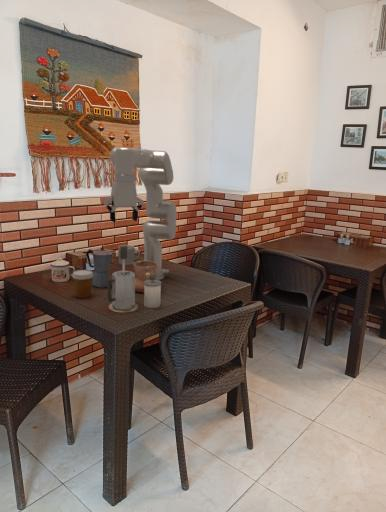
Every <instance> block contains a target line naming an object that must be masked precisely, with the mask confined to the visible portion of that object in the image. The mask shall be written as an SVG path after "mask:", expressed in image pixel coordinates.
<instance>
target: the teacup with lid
mask: <svg viewBox="0 0 386 512" xmlns="http://www.w3.org/2000/svg"><path fill="white" fill-rule="evenodd" d="M50 268H51V281H52V282H54V283H65V282H68V281H69V280H70V276H71V277H72V275H73V272H74V271H76V268H75V267H74V266H73V265H72V266H71V265H70V262H69V261H67V260H65V259H63V258H62V257H59V258H58V259H56V260H55V261H52V262H51V263H50ZM70 268H71V269H72V270H73V272H71V273H70Z"/></svg>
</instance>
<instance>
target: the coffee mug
mask: <svg viewBox="0 0 386 512" xmlns="http://www.w3.org/2000/svg"><path fill="white" fill-rule="evenodd" d="M120 246H127V259H125V266H129V265H130V266H131V265H134V262H135V260H137V259H139V258H140V256H141V253H140V252H141V251H140V249H138V248H135V246H134V245H131V244H129V245H128V244H126V245H125V244H124V245H123V244H122V245H119V246H118V247H117V248H118V249H117V250H118V251H117V254H118V257H117V260H118V261H117V264H119V265H122V266H123V259H121V258H120ZM136 252H137V255H136Z"/></svg>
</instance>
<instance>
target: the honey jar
mask: <svg viewBox="0 0 386 512" xmlns="http://www.w3.org/2000/svg"><path fill="white" fill-rule="evenodd" d="M72 273H73V275H71V277H72V278H73V284H74V291H75V297H76V298H78V299H84V298H85V299H86V298H89V297H91V293H92V287H93V285H92V282H93V276H94V272H93V271H92V270H89V269H77V270H75V271H74V270H73V272H72Z"/></svg>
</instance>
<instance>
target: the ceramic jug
mask: <svg viewBox="0 0 386 512" xmlns="http://www.w3.org/2000/svg"><path fill="white" fill-rule="evenodd" d="M133 269H134V273H135V293H141V294H144V281H145V280H150V273H156V272H157V269H158V263H156V262H153V261H146V260H144V259H142V260H137V261H134V264H133Z"/></svg>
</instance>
